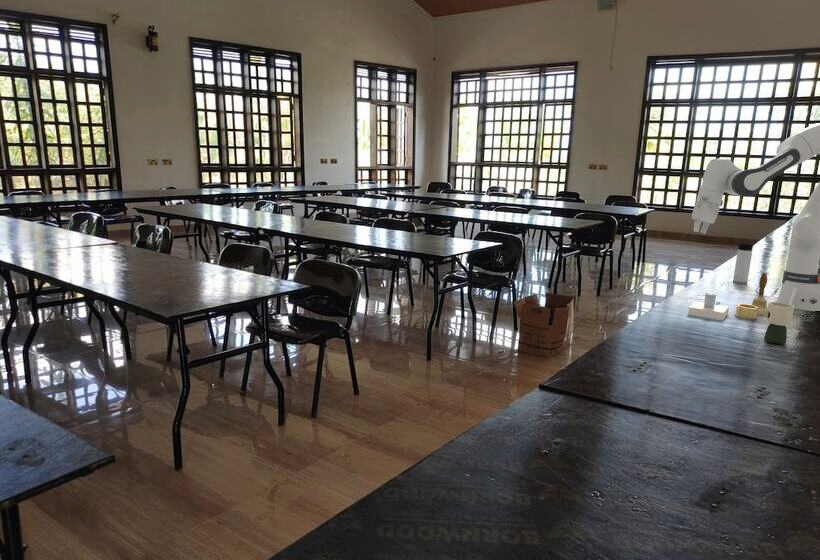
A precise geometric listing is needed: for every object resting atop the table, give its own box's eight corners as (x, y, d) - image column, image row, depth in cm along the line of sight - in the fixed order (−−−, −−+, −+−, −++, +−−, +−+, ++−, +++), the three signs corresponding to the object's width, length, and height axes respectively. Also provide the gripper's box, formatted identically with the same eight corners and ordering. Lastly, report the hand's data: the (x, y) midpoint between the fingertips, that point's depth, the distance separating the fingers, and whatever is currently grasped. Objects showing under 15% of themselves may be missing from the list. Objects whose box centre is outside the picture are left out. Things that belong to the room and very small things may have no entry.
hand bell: (773, 315, 225) (780, 275, 221) (750, 314, 226) (756, 274, 223) (765, 310, 233) (771, 271, 229) (743, 308, 234) (749, 270, 231)
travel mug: (734, 283, 285) (740, 243, 281) (731, 281, 291) (737, 241, 287) (748, 284, 284) (755, 244, 279) (745, 282, 290) (751, 242, 286)
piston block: (727, 314, 224) (730, 294, 223) (722, 320, 215) (725, 299, 213) (694, 308, 231) (696, 289, 230) (687, 314, 222) (690, 294, 220)
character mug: (764, 336, 196) (771, 299, 193) (789, 341, 191) (796, 303, 189) (759, 344, 188) (765, 305, 185) (784, 349, 183) (791, 309, 180)
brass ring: (757, 316, 223) (759, 306, 222) (755, 319, 218) (757, 309, 217) (736, 312, 227) (738, 303, 226) (734, 316, 222) (735, 306, 221)
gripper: (710, 197, 221) (699, 232, 223) (724, 202, 236) (714, 235, 238) (693, 194, 225) (683, 229, 227) (708, 200, 240) (698, 232, 242)
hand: (699, 232), depth 233 cm, fingers open, 8 cm apart
